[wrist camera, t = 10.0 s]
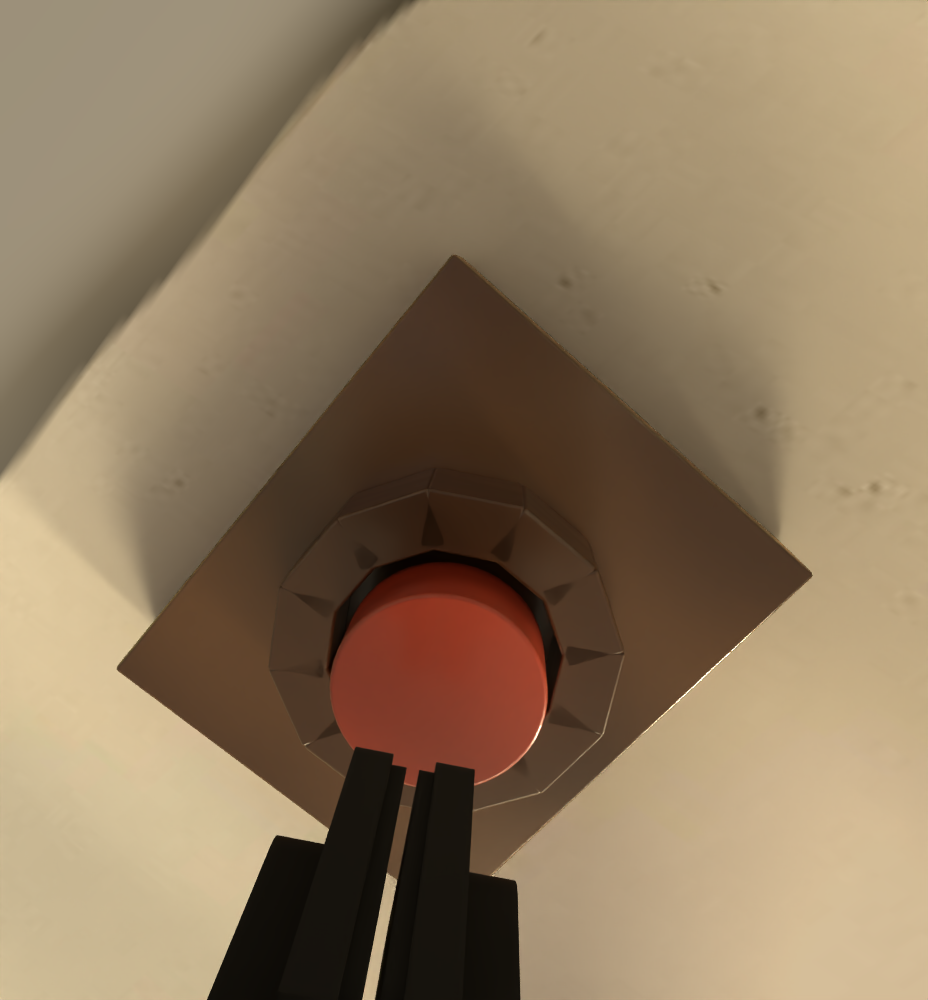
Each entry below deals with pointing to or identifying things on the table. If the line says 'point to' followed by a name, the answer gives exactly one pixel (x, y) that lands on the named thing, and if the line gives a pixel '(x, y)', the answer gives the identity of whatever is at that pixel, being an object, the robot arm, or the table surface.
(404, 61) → the table surface
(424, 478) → the button block
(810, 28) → the table surface
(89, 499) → the table surface
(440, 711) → the button
